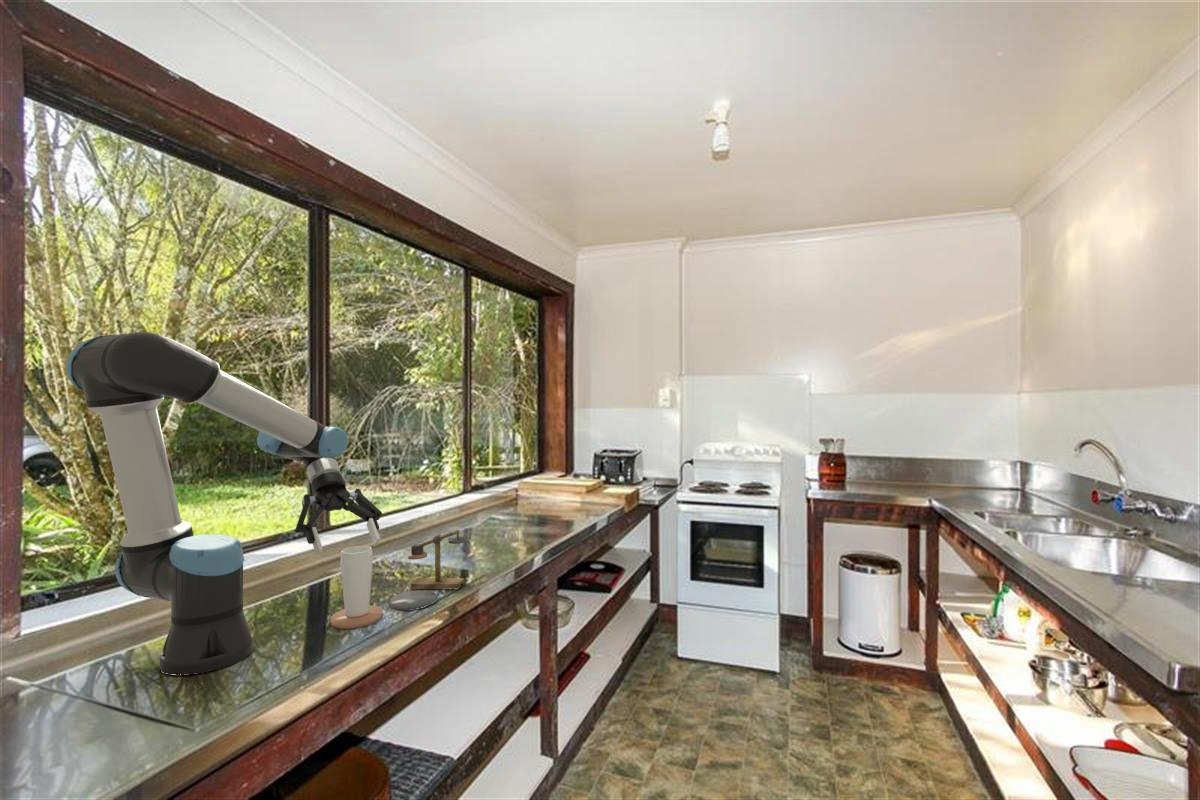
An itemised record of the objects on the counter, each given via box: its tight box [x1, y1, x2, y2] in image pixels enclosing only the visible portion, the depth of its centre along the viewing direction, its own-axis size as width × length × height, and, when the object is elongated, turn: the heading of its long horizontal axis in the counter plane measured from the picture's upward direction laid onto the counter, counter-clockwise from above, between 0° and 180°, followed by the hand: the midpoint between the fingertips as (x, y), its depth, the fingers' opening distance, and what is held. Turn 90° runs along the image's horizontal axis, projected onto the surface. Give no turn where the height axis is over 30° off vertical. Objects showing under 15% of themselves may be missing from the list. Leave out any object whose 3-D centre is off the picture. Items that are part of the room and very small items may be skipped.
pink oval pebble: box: [330, 605, 384, 630], centre depth 127 cm, size 11×11×1 cm
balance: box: [407, 529, 468, 591], centre depth 150 cm, size 16×5×16 cm, turn 87°
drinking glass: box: [340, 545, 374, 617], centre depth 127 cm, size 7×7×15 cm
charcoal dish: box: [389, 590, 437, 611], centre depth 138 cm, size 11×11×1 cm
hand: (349, 547), depth 132 cm, fingers open, 13 cm apart
